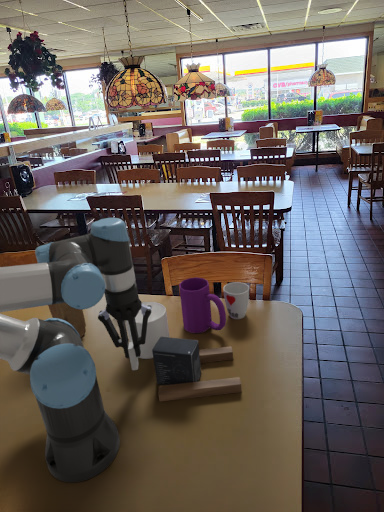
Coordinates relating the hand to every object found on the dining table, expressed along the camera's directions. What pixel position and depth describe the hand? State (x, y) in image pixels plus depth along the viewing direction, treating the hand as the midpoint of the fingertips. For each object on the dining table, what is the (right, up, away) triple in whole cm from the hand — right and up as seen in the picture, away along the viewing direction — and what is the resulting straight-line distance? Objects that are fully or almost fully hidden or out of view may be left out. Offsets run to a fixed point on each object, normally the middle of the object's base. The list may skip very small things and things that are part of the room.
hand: (135, 366), depth 97 cm
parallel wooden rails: (+16, -3, +2) cm, 17 cm away
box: (+11, -4, +2) cm, 12 cm away
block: (-24, +3, +25) cm, 35 cm away
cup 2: (+29, +9, +28) cm, 41 cm away
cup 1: (+2, +1, +16) cm, 16 cm away
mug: (+19, +5, +22) cm, 29 cm away
